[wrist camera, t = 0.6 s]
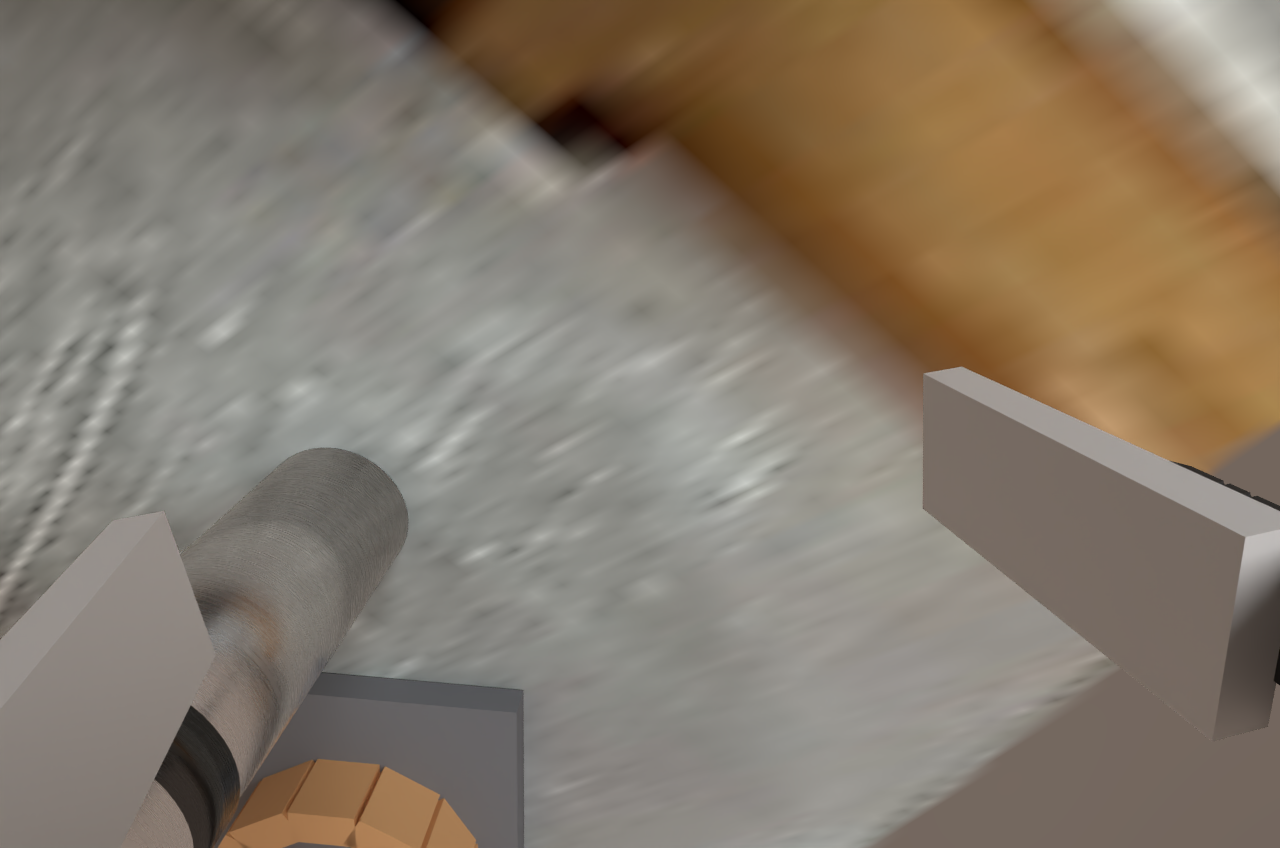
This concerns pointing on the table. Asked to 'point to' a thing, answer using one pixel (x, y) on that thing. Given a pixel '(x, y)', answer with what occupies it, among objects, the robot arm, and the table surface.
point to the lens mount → (390, 770)
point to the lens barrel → (269, 628)
